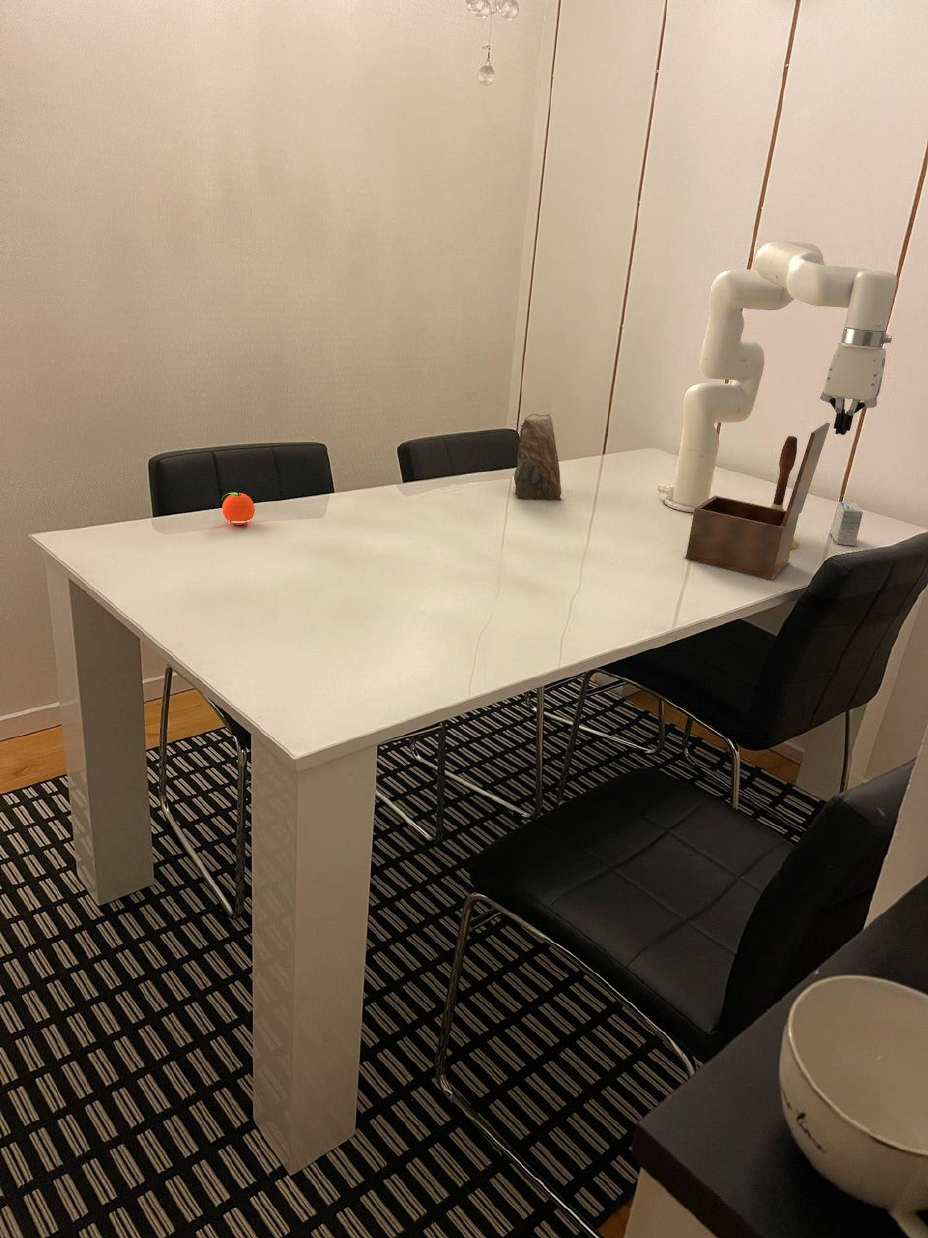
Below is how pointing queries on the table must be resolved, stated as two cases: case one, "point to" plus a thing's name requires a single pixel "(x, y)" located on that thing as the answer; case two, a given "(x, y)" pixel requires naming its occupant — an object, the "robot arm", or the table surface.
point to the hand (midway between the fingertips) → (840, 433)
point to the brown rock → (537, 460)
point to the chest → (741, 537)
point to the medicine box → (847, 523)
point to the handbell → (785, 473)
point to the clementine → (238, 508)
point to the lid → (806, 473)
